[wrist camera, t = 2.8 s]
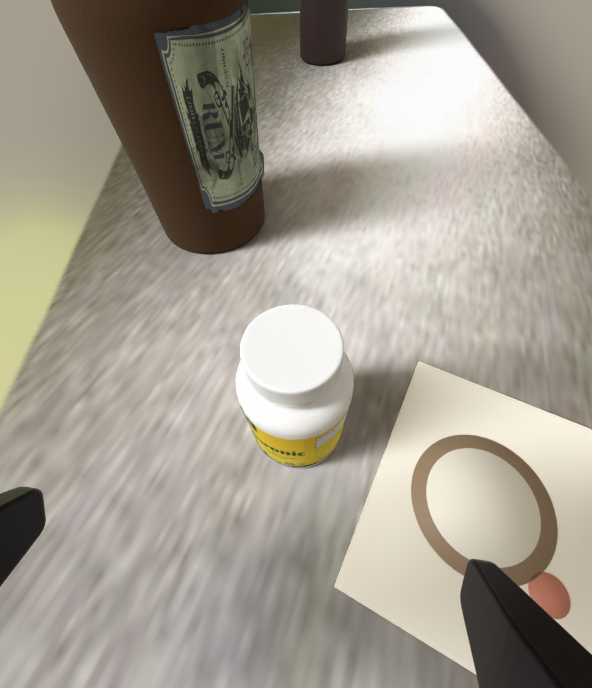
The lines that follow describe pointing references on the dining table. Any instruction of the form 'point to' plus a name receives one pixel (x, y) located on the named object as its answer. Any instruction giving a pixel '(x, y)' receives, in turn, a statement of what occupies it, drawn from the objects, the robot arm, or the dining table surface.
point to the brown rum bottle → (179, 108)
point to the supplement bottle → (294, 384)
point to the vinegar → (323, 30)
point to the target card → (474, 511)
